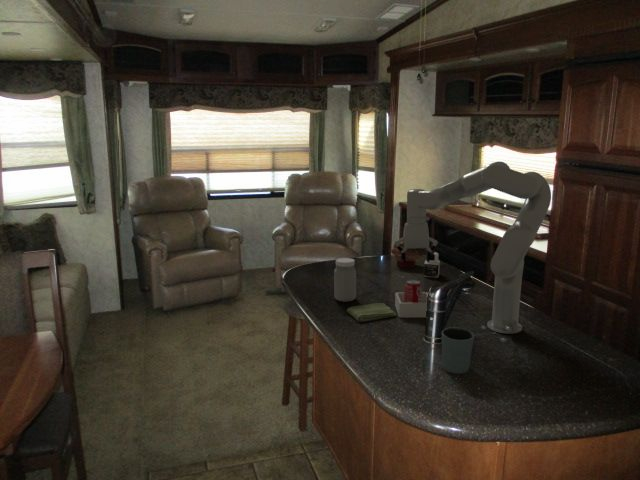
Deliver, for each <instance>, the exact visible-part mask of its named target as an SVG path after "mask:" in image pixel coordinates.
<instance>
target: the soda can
mask: <svg viewBox="0 0 640 480" xmlns="http://www.w3.org/2000/svg"><path fill="white" fill-rule="evenodd" d="M422 288H423V286H422V284H421V280H419V279H408V280H406V283H404V290H403V291H404V303H421V298H422V292H423V289H422Z"/></svg>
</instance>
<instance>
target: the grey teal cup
mask: <svg viewBox="0 0 640 480" xmlns="http://www.w3.org/2000/svg"><path fill="white" fill-rule="evenodd" d="M474 339H475V334H474V333H473V331H472V330H470V329H468V328H463V327H456V326H453V327H445V328H444V329H442V330H441V367H442V369H443V370H444V371H446V372H448V373H450V374H457V375H459V374H460V375H462V374H465V373H467V372H469V369H470V364H471V356H472V350H473V346H474Z"/></svg>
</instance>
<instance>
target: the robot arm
mask: <svg viewBox="0 0 640 480" xmlns="http://www.w3.org/2000/svg"><path fill="white" fill-rule="evenodd" d="M491 189H494V190H496V191H498V192H500V193H504V194H507V195H509V196H512V197H515V198H518V199H521V200H524V202H523V204H522V206H521V208H520V210H519V212H518V215H517V217H516V219H515V220H514V222H513V224H511V226H509V228H508V229H506V231H505V232H504V234H503V236H502V238H501V239H500V241H499V244H498V246H497V247H496V250H495V252H494V254H493V256H492V258H491V260H490V270H491V272H492V274H494V284H493V285H494V287H493V296H492V297H493V298H492V312H491V313H492V314H491V319H490V320H488V321H487V328H488V329H489V330H491V331H493V332H496V333H500V334H506V335H507V334H510V335H511V334H512V335H513V334H519V333H520V332H522V331H523V326H522V324H521V323H519V318H520V317H519V315H520V306H521V305H520V304H521V302H520V301H521V291H522V280H523V273H524V265H525V257H526V255H527V253H528V251H529V249H530V247H531V246H532V245H533V244H534V242H535V239H536V236H537V234H538V232H539V231H540V230H539V229H541V228H540V227H541V226H542V224H543V222H544V219H545V218H546V215H547V213H548V211H549V208H550V205H551V201H552V190H551V187H550V185H549V183H548V181H547V180H546V177H544V176H543V175H541V173H539V172H536V171H528V172H520V171H518V170H514V169H511V168H510V166H509V164H507V163H506V162H504V161H494V162H492V163H489V164H487V165H484V166H482V167H479V168H478V169H476V170H473V171H471V172H469V173H468V172H467V173H465V174H464V175H462V176H461V177H459V178H458V179H456V180H454V181H452V182H450V183H447V184H444V185H443V186H442V185H441V186H439V187H436V188H435V189H432V190H425V189H423V188H421V189H420V188H413V189H409V190H407V193H406V222H405V223H404V225H403V226H404V227H403V234H402V237H400V238H399V239H397V240H395V241H394V243H395V245H396V247H397V248H398V250H400V251H401V260H403V262H404V263H405V251H406V250H407V248H419V249H424V248H426V249H427V250H426V252H425V253H426V255H425V261H426V260H427V262H429V259H431V252H433V251H434V249H436V246H437V245H438V244H439V242H438V240H436V239H435V238H432V237H430V236H429V235H430V232H429V226H428V221H430V219H431V218H430V216H427V210H429V211H434V210H439V209H440V208H442V207H445V206H447V205H448V204H449V205H450V204H451V203H454V202H456V201H459V200H461V199H465V198H470V197H474V196H476V195H478V194H479V195H480V194H481V193H484V192H487V191H489V190H491ZM401 242H403V245H404V246H403V247H402V248H401V247H400V246H399V243H401ZM430 242H431V243H432V244H431V246H430ZM394 243H393V244H394Z"/></svg>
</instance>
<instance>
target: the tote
mask: <svg viewBox="0 0 640 480" xmlns="http://www.w3.org/2000/svg"><path fill="white" fill-rule="evenodd" d="M428 294H429V293H428V291H427V292H425V291H422V298H421V303H404V292H403V291H402V292H395V296H394V299H395V300H394V301H395V302H394V305H395V309H396V312H397V313H396V314H397V315H398V318H427V317H426V311H427V297H428Z"/></svg>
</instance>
